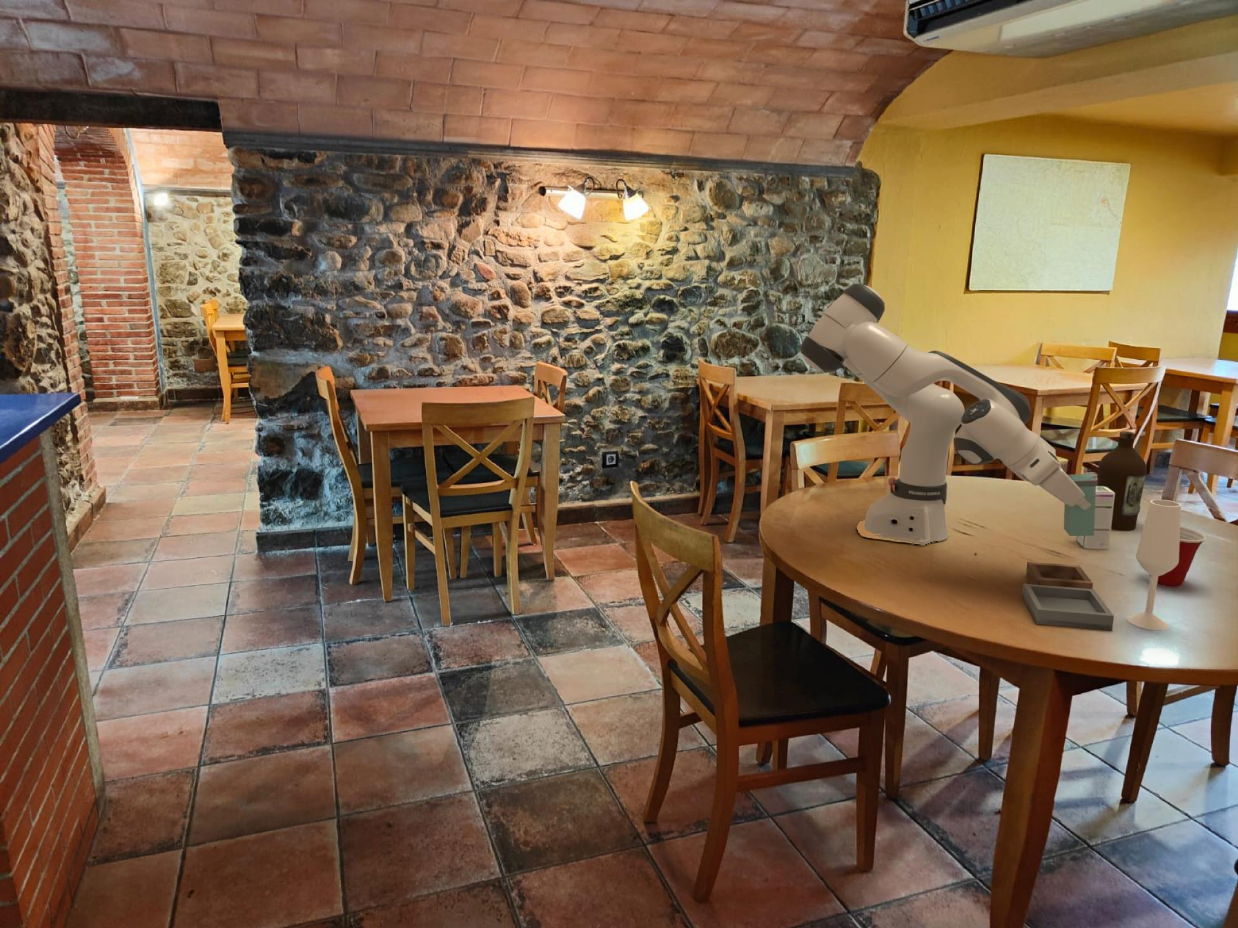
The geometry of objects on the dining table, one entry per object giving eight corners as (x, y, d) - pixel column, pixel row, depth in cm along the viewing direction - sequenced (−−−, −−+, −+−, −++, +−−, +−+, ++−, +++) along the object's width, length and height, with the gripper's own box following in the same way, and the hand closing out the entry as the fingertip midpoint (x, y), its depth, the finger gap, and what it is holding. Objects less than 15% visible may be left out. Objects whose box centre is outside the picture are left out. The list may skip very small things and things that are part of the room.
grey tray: (1036, 623, 153) (1037, 609, 152) (1022, 597, 165) (1023, 583, 164) (1112, 630, 149) (1114, 615, 148) (1092, 602, 161) (1094, 589, 160)
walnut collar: (1036, 592, 167) (1037, 579, 166) (1025, 574, 177) (1027, 561, 176) (1091, 596, 164) (1093, 583, 163) (1077, 578, 174) (1079, 565, 173)
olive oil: (1082, 522, 210) (1093, 430, 204) (1108, 516, 215) (1120, 426, 209) (1121, 534, 201) (1134, 438, 195) (1147, 527, 205) (1161, 433, 199)
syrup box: (1109, 550, 190) (1117, 492, 187) (1082, 548, 191) (1089, 491, 188) (1100, 542, 196) (1107, 485, 192) (1074, 540, 197) (1081, 485, 193)
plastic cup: (1200, 596, 163) (1209, 541, 161) (1137, 586, 169) (1145, 532, 166) (1196, 578, 172) (1205, 526, 169) (1137, 569, 178) (1145, 519, 175)
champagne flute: (1122, 613, 156) (1138, 496, 150) (1161, 616, 154) (1179, 499, 149) (1132, 627, 150) (1150, 507, 144) (1173, 631, 148) (1193, 509, 142)
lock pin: (1069, 536, 165) (1070, 481, 162) (1062, 528, 169) (1064, 474, 166) (1094, 535, 164) (1097, 480, 161) (1087, 527, 168) (1089, 473, 165)
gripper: (1009, 457, 176) (1057, 497, 175) (1031, 483, 157) (1085, 529, 156) (1032, 436, 173) (1080, 477, 173) (1057, 461, 154) (1111, 507, 154)
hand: (1083, 502), depth 165 cm, fingers closed on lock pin, 4 cm apart
